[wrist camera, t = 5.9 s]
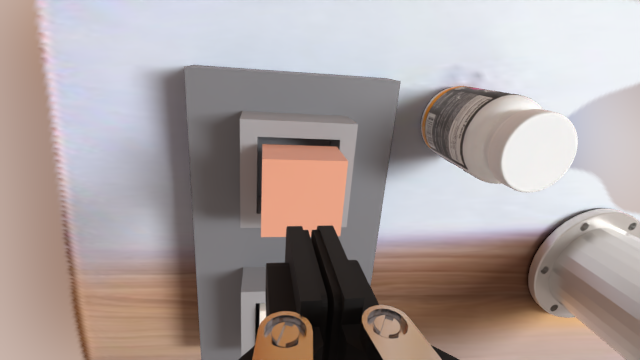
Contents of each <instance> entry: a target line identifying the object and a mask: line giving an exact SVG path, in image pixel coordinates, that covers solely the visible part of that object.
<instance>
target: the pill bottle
mask: <svg viewBox="0 0 640 360" xmlns="http://www.w3.org/2000/svg"><path fill="white" fill-rule="evenodd" d="M421 133H422V137H423V139H424V142H425V143H426V145H427V146H428V147H429V148H430V149H431V150H432V151H433V152H435V153H436V154H438V155H439V156H441V157H443V158H444V159H446V160H447V161H449V162H451V163H453V164H454V165H456V166H458V167H459V168H461V169H463V170H464V171H465V172H467V173H469V174H471V175H472V176H474V177H476V178H478V179H479V180H482V181H485V182H488V183H495V184H501V183H502V184H504V185H506V186H508V187H510V188H512V189H514V190H517V191H520V192H536V191H540V190H543V189H545V188H547V187H549V186H551V185H553V184H554V183H555V182H557V181H558V180H559V179H560V178H561V177H562V176H563V175H564V174H565V173H566V171H567V170H568V169H569V167H570V166H571V164H572V162H573V159H574V157H575V155H576V151H577V142H578V139H577V133H576V130H575V128H574V126H573V124H572V123H571V122H570V120H569V119H568V118H566V117H565V116H563V115H561V114H559V113H556V112H552V111H548V110H543V109H542V108H541V106H540V105H539V104H537V103H536V102H535V101H533V100H531V99H530V98H528V97H525V96H522V95H517V94H510V93H503V92H498V91H491V90H485V89H479V88H473V87H466V86H455V87H450V88H447V89H445V90H443V91H441V92H440V93H438V94H437V95H436V96H434V97H433V98H432V99H431V101H430V102H429V103H428V105H427V106H426V108H425V110H424V112H423V115H422V120H421Z"/></svg>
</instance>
